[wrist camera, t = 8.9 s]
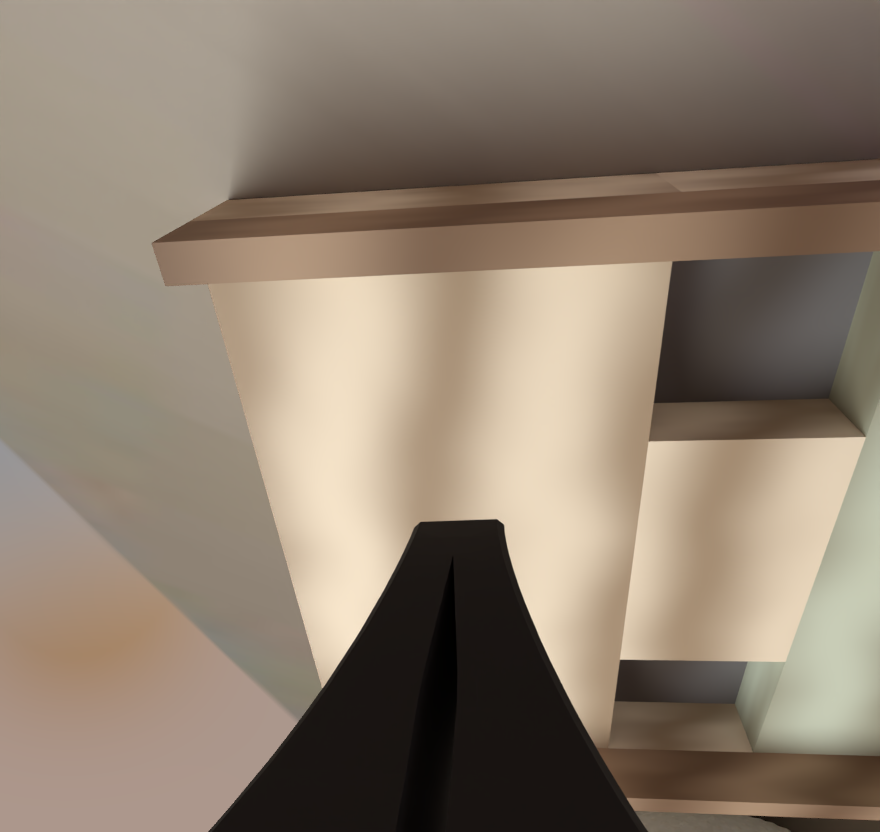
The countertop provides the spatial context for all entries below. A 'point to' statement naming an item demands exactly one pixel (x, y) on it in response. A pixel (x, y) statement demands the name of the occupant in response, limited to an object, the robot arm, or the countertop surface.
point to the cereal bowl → (704, 823)
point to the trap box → (594, 443)
